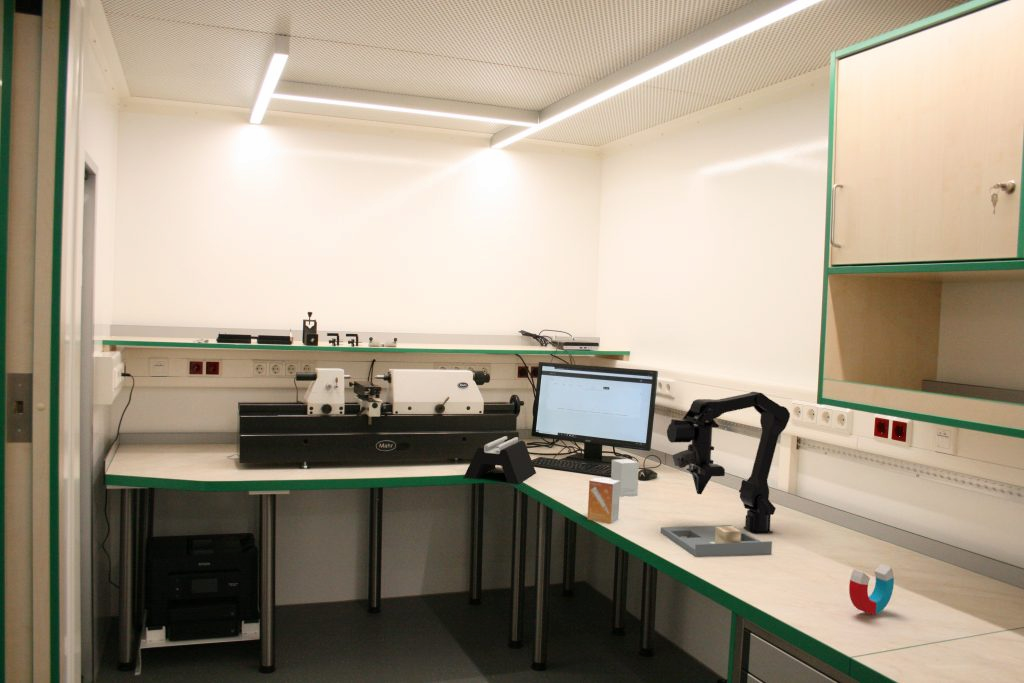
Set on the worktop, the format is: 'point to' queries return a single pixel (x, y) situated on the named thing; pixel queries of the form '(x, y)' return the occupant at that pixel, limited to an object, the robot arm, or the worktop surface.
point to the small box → (603, 500)
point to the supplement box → (626, 476)
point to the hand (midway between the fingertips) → (699, 493)
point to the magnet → (878, 596)
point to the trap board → (706, 546)
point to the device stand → (502, 460)
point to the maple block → (727, 535)
